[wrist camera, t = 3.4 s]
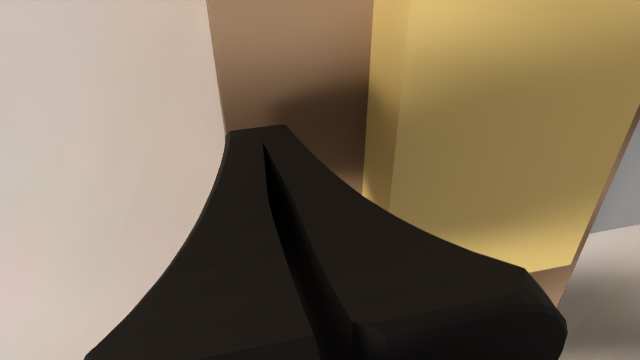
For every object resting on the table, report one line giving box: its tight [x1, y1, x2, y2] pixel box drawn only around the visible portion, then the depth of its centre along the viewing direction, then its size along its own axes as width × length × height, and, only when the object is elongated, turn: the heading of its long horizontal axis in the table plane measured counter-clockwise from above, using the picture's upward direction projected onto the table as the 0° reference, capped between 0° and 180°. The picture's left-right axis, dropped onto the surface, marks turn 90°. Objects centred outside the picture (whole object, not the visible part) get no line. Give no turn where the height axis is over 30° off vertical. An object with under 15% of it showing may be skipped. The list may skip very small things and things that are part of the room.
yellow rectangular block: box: [362, 0, 640, 273], centre depth 13 cm, size 9×6×2 cm, turn 0°
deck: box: [206, 0, 640, 308], centre depth 15 cm, size 20×12×4 cm, turn 0°
